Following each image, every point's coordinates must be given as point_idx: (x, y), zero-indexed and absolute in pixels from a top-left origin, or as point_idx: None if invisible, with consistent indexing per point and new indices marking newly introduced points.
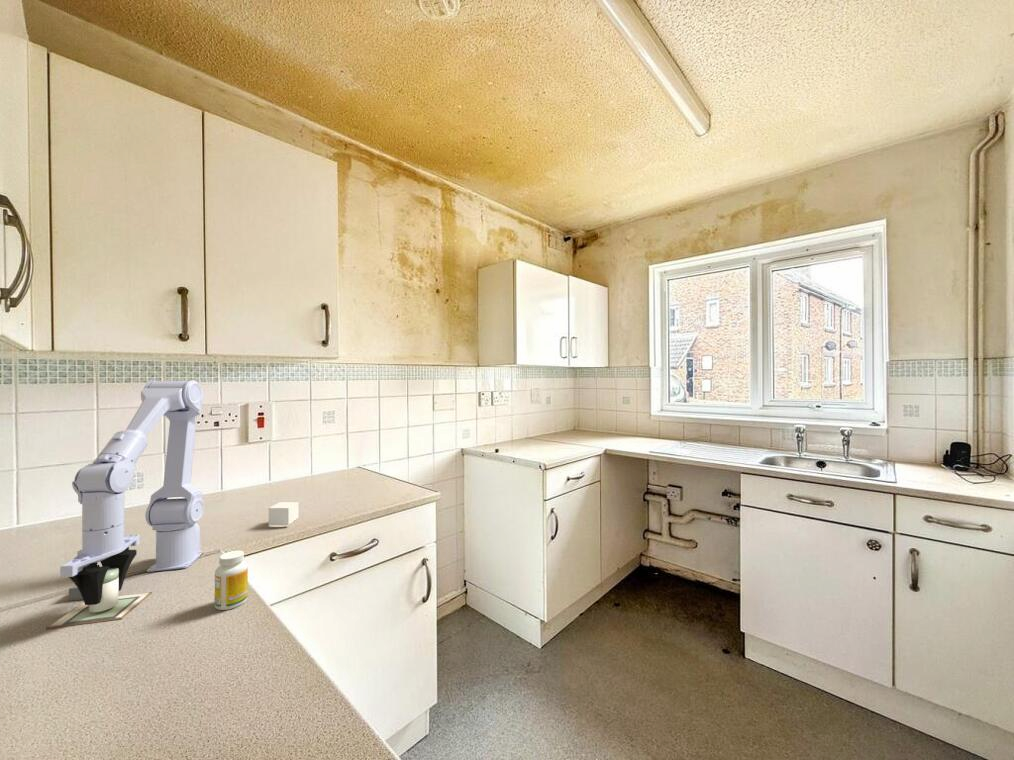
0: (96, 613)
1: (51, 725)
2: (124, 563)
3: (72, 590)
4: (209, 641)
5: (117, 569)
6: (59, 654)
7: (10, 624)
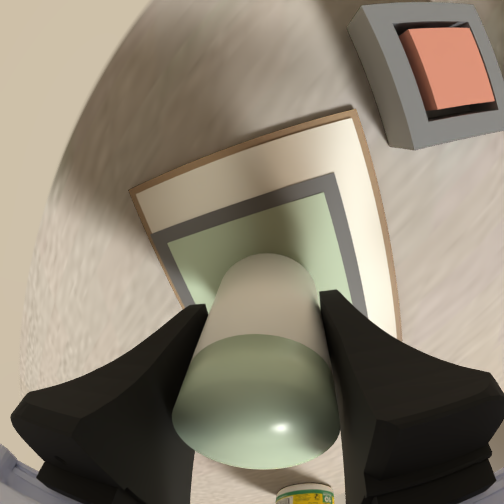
0: None
1: None
2: (345, 478)
3: (364, 24)
4: (193, 498)
5: (301, 460)
6: (79, 356)
7: (150, 7)
